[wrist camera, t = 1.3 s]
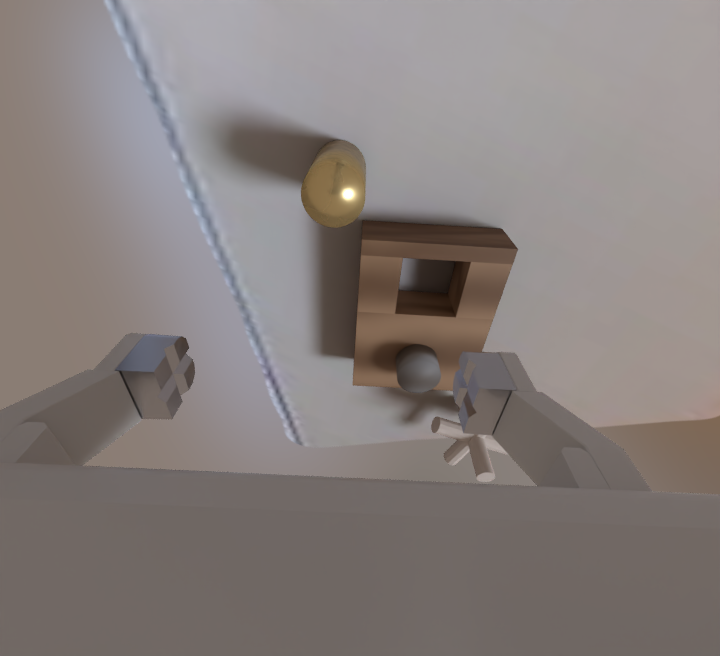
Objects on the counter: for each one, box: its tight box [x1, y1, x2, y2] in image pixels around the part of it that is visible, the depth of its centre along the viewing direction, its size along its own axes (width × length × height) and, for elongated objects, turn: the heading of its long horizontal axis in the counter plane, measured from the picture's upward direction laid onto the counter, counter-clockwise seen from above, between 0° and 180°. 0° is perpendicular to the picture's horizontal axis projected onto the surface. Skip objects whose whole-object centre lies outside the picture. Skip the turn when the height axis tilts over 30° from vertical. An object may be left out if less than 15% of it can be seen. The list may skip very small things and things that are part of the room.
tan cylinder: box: [301, 140, 366, 228], centre depth 25 cm, size 4×4×7 cm
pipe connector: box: [431, 406, 509, 482], centre depth 40 cm, size 10×10×10 cm
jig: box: [353, 220, 518, 393], centre depth 33 cm, size 16×12×6 cm
